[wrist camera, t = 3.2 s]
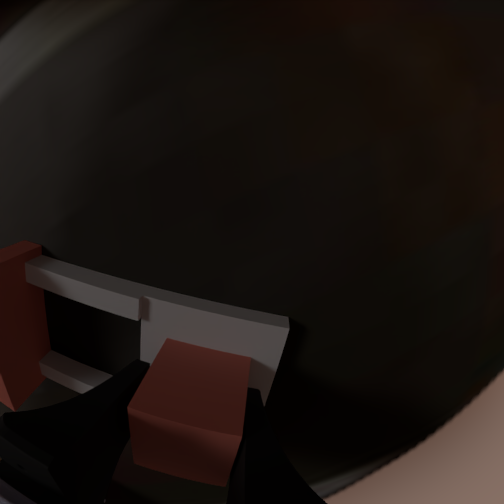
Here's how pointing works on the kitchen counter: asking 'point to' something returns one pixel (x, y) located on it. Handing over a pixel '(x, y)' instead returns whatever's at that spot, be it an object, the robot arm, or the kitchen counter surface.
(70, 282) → the white rails red ends
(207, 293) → the kitchen counter surface
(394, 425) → the kitchen counter surface
